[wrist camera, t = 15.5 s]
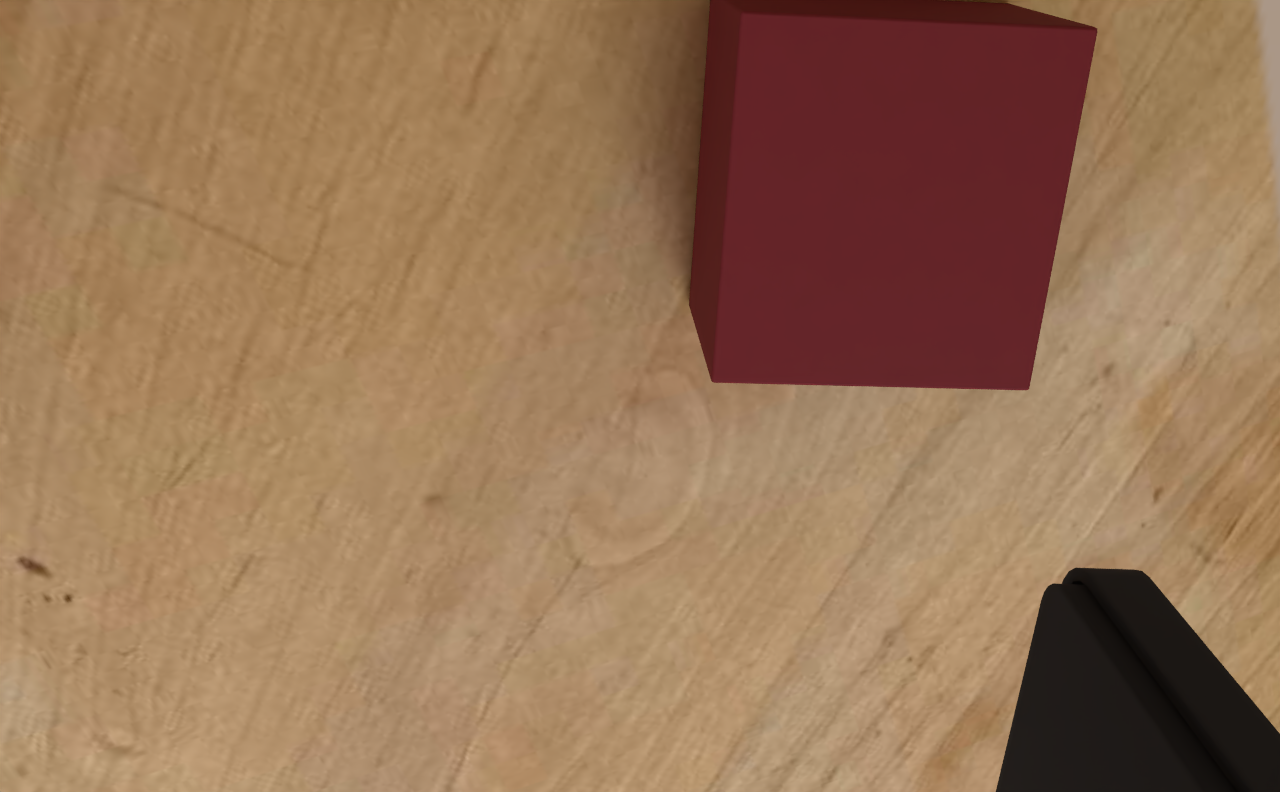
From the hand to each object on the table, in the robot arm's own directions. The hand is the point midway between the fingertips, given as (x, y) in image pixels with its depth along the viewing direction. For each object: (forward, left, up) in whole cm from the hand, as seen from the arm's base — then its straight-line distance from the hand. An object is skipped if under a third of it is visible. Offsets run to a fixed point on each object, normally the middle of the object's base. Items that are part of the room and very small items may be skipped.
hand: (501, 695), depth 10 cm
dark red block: (-2, +6, -14) cm, 15 cm away
